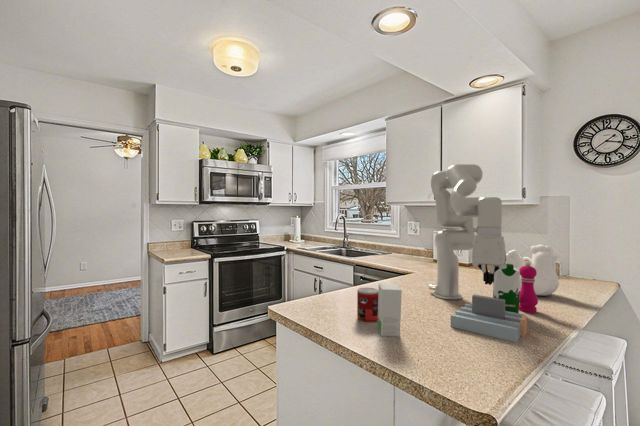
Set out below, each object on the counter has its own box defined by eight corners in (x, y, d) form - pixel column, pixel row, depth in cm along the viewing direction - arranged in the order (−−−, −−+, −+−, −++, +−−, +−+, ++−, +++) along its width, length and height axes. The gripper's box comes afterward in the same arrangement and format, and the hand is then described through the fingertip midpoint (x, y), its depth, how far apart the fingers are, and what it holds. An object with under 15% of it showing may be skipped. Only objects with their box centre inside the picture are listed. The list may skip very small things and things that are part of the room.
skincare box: (377, 327, 109) (377, 282, 109) (396, 327, 109) (396, 283, 109) (381, 336, 101) (381, 288, 101) (401, 337, 101) (402, 289, 100)
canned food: (355, 315, 121) (355, 287, 121) (375, 315, 121) (375, 287, 121) (359, 323, 113) (359, 292, 113) (381, 322, 114) (381, 292, 114)
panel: (504, 325, 108) (505, 299, 108) (503, 327, 106) (503, 301, 106) (473, 318, 115) (474, 294, 115) (471, 320, 113) (472, 295, 113)
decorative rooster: (563, 295, 151) (564, 244, 151) (550, 301, 142) (551, 246, 142) (508, 285, 171) (508, 240, 171) (494, 289, 162) (494, 242, 162)
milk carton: (495, 315, 122) (496, 264, 121) (491, 308, 130) (491, 261, 130) (521, 318, 119) (522, 266, 119) (515, 311, 127) (515, 262, 127)
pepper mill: (541, 314, 124) (542, 263, 124) (521, 312, 125) (521, 263, 125) (532, 308, 131) (533, 261, 131) (514, 307, 132) (514, 260, 132)
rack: (450, 326, 110) (450, 310, 110) (465, 313, 124) (466, 299, 124) (521, 343, 96) (521, 325, 96) (529, 326, 110) (529, 311, 110)
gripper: (463, 231, 112) (463, 282, 112) (511, 233, 103) (511, 289, 103) (469, 230, 118) (468, 279, 118) (515, 232, 108) (515, 285, 108)
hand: (488, 283), depth 110 cm, fingers closed
